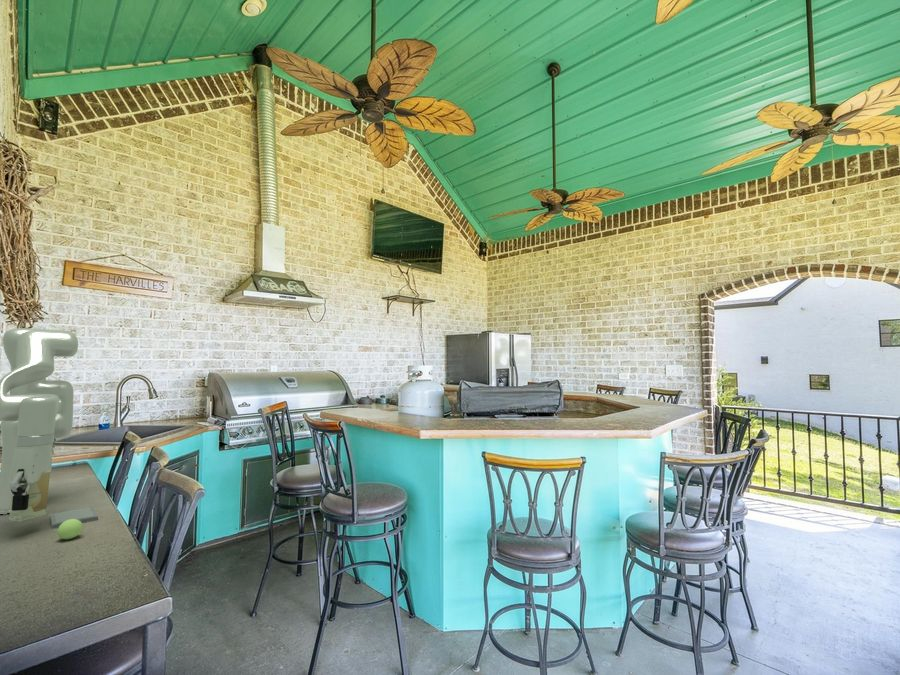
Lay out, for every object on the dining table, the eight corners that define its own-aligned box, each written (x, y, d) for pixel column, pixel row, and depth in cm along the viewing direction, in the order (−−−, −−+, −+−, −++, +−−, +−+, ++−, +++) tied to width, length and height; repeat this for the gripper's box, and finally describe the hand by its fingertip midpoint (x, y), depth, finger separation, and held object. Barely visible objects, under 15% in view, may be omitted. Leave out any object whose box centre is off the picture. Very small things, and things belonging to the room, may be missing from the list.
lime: (63, 536, 113) (64, 517, 113) (85, 534, 114) (86, 515, 115) (52, 543, 108) (53, 523, 109) (75, 541, 110) (77, 521, 110)
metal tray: (49, 517, 129) (50, 513, 129) (92, 509, 136) (92, 506, 136) (52, 528, 119) (52, 524, 119) (97, 519, 126) (98, 515, 127)
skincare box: (20, 522, 113) (24, 476, 113) (8, 520, 113) (12, 475, 114) (47, 514, 119) (51, 470, 120) (35, 512, 120) (39, 469, 121)
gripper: (38, 436, 125) (32, 496, 123) (-5, 447, 108) (-12, 517, 107) (68, 435, 127) (63, 494, 126) (32, 446, 110) (25, 514, 109)
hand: (29, 504), depth 116 cm, fingers closed on skincare box, 7 cm apart
